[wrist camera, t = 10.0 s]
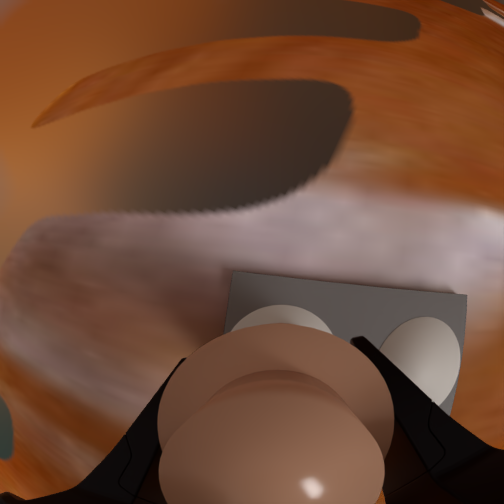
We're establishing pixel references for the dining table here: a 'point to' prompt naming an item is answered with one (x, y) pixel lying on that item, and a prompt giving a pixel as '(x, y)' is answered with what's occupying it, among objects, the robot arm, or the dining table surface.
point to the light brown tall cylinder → (275, 421)
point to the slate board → (364, 322)
